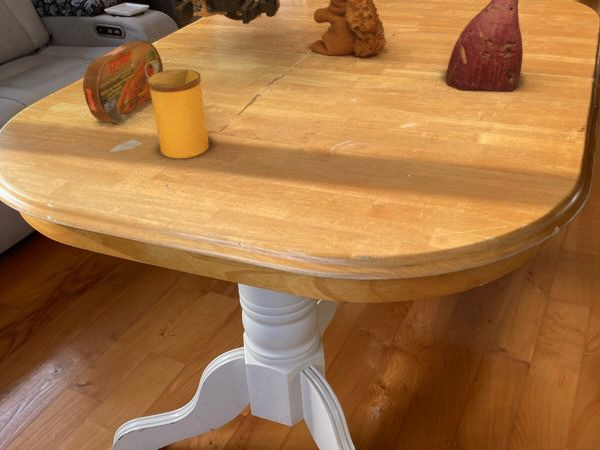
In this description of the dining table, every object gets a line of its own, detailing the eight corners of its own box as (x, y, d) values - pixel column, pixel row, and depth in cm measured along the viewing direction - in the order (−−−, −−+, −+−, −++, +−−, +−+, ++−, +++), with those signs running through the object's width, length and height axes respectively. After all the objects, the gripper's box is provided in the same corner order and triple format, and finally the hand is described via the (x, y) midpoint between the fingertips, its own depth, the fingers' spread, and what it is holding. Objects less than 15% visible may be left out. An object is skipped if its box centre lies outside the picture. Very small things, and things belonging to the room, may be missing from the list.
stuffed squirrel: (348, 37, 105) (348, -42, 98) (403, 55, 96) (408, -31, 88) (303, 48, 101) (300, -34, 93) (357, 68, 91) (358, -21, 84)
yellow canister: (153, 161, 67) (138, 86, 62) (170, 140, 72) (158, 68, 67) (201, 164, 66) (190, 87, 61) (216, 142, 71) (207, 69, 66)
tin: (109, 134, 74) (94, 69, 69) (88, 131, 75) (72, 67, 70) (169, 91, 86) (159, 33, 81) (150, 90, 86) (139, 32, 82)
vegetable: (497, 89, 90) (534, -13, 84) (525, 106, 81) (568, -7, 75) (433, 76, 89) (465, -30, 82) (453, 92, 79) (491, -26, 73)
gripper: (195, -39, 88) (155, -15, 74) (288, -40, 85) (264, -16, 72) (201, 13, 92) (165, 44, 79) (290, 13, 89) (268, 45, 76)
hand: (212, 15), depth 75 cm, fingers open, 8 cm apart
